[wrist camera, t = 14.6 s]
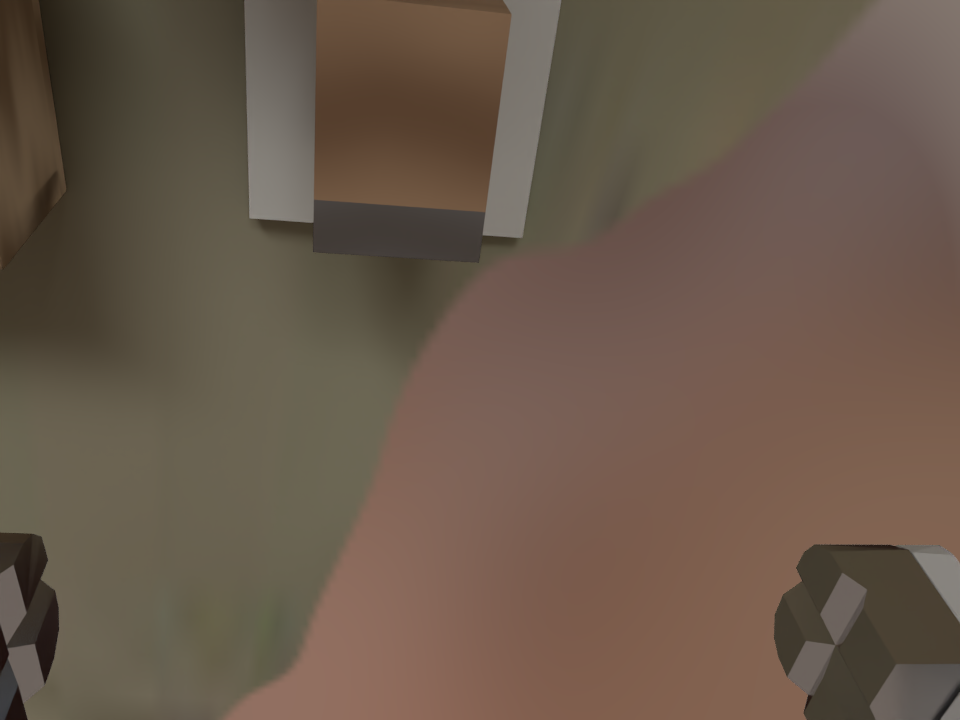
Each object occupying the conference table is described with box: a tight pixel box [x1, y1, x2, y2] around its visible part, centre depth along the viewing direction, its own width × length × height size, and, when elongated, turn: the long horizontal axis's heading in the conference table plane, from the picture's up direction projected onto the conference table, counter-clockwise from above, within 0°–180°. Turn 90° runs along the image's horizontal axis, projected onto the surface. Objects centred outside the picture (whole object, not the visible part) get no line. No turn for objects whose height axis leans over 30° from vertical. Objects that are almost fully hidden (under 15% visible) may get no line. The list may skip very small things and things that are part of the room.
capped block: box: [313, 0, 512, 263], centre depth 25 cm, size 6×4×8 cm
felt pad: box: [244, 0, 561, 238], centre depth 28 cm, size 12×10×1 cm
